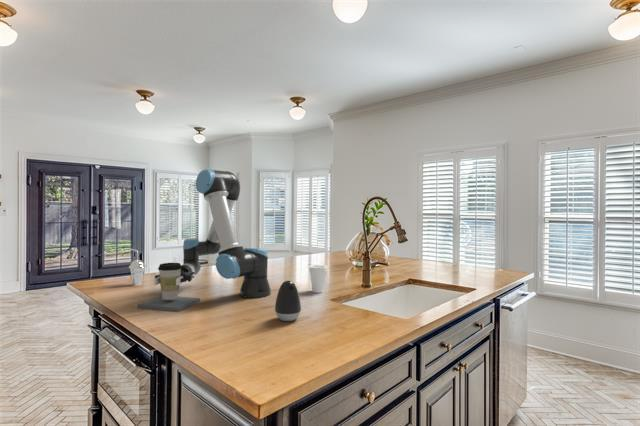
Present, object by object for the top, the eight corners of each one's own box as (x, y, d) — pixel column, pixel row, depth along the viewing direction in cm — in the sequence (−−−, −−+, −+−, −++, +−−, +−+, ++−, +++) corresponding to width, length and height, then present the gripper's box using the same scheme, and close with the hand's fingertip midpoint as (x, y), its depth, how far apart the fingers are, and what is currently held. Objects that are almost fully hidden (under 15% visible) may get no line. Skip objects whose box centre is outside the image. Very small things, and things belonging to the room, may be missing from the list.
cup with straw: (132, 287, 187) (132, 250, 187) (125, 284, 193) (125, 248, 193) (148, 284, 193) (148, 248, 193) (141, 282, 199) (141, 247, 199)
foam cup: (330, 290, 184) (330, 266, 183) (321, 294, 176) (321, 268, 176) (315, 288, 189) (315, 264, 188) (305, 291, 181) (305, 266, 181)
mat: (200, 301, 161) (200, 298, 161) (178, 311, 145) (178, 307, 145) (162, 298, 165) (162, 295, 165) (137, 307, 150) (137, 304, 150)
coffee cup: (176, 301, 150) (176, 266, 150) (153, 300, 150) (153, 265, 150) (185, 295, 160) (185, 262, 160) (164, 294, 160) (164, 262, 160)
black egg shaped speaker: (280, 325, 130) (280, 284, 129) (271, 317, 139) (271, 279, 139) (305, 321, 134) (305, 282, 134) (294, 313, 144) (295, 277, 143)
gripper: (206, 279, 174) (190, 290, 151) (162, 279, 173) (140, 290, 150) (206, 264, 173) (191, 273, 151) (162, 264, 173) (140, 273, 150)
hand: (165, 282), depth 151 cm, fingers closed on coffee cup, 9 cm apart
